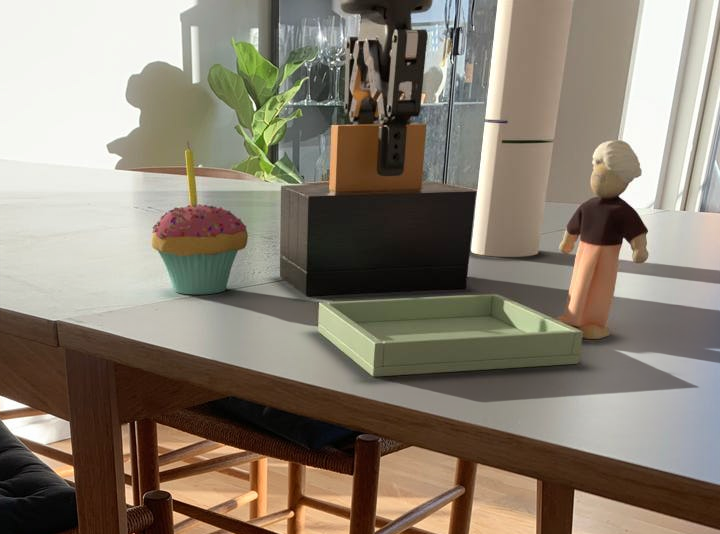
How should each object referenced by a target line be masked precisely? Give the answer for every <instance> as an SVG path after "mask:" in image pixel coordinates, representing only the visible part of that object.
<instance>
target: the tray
mask: <svg viewBox="0 0 720 534" xmlns="http://www.w3.org/2000/svg"><path fill="white" fill-rule="evenodd" d="M555 319H556V318H553V317H551V316H548V315H546V314H544V313H542V312H540V311H538V310H534V309H533V308H530V307H528V306H526V305H524V304H521V303H519V302H517V301H514V300H512V299H509V298H508V297H505V296H503V295H500V294H498V293H491V294H490V293H487V294H485V293H484V294H467V295H447V296H446V295H445V296H443V295H442V296H426V297H425V296H424V297H423V296H422V297H406V298H404V297H403V298H388V299H387V298H382V299H363V300H362V299H361V300H344V301H324V302H322V301H321V302H319V303H318V324H317V327H318V328H317V331H318V333H319V334H321V335H322V336H323V337H325V339H327V340H328V341H329V342H330V343H332V344H333V345H334V346H335V347H337V349H339V350H340V351H342V353H344V354H345V355H346V356H347V357H349V358H350V359H351V360H352V361H353V362H354V363H356V364H357V365H358V366H360V368H362V369H363V370H364V371H365V372H367V373H368V374H369V375H370V376H372V377H373V378H375V377H376V378H377V377H392V376H393V377H394V376H408V375H425V374H441V373H453V372H457V373H458V372H470V371H485V370H487V371H488V370H501V369H502V370H503V369H519V368H533V367H536V368H537V367H549V366H565V365H566V366H567V365H578V364H579V360H580V354H581V349H582V342H583V338H582V337H583V331H581V330H578V329H576V328H574V327H571V326H569V325H567V324H565V323H562V322H560V321H558V320H555Z"/></svg>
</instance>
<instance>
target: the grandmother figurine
mask: <svg viewBox="0 0 720 534" xmlns="http://www.w3.org/2000/svg"><path fill="white" fill-rule="evenodd" d="M591 163H592V166H593V168H592V169H593V171H592V173H591V176H590V188H591V190H592V192H593V193H594V194H595V195H596V196H593V197H590V198H589V199H588V200H586V201H584V202H583V203H581V204H580V205H579V206H578V208H577V209H576V210H575V212H574V213H573V215H572V216H571V218H570V219H569V221H568V223H567V224H566V229H565V232H564V234H563V237H562V239H563V240H562V241H561V242H560V244H559V245H558V246H559V247H558V249H559V251H560V253H562V254H563V255H564V254H565V255H568V254H570V253H572V252H573V251H574V248H575V243H576V242H578V239H579V240H580V241H579V242H578V248H577V250H576V255H575V259H574V266H573V272H572V276H571V281H570V286H569V290H568V295H567V299H566V303H565V306H564V307H565V308H564V313H563V314H564V316H559V317H556V318H554V319H555V320H558V321H560V322H562V323H565V324H567V325H569V326H571V327H574V328H576V329H578V330H581V331H583V337H582V339H587V340H598V339H603V338H606V337H609V336H610V335H611V330H610V328H609V326H607V324H608V320H609V316H610V311H611V306H612V302H613V299H614V295H615V291H616V284H617V283H616V282H617V278H618V271H619V270H618V268H619V258H620V252H621V249H622V246H623V241H624V240H625V241H626V242H627V243H628V244H629V245H630V249H631V251H632V261H633V262H634V263H635V264H643V263H645V262H646V261H647V260H648V258H649V251H648V249H647V245H648V240H647V234H648V233H649V229H648V228H647V226H646V225H645V223H644V221H643V220H642V218H641V216H640V215H639V213H638V212H637V211H636V209H635V208H634V207H633V206H632V205H631V204H629V203H628V201H626V200H624V199H623V198H622V197H620V196H621V195H622V194H623V193H624V192H625V191H626V190H627V188H628V186H629V185H630V184H631V183H632V182H633V181H634V179H638V178H639V177H641V176H642V173H643V171H642V168H641V163H640V162H639V157H638V156H637V154H636V153H635V151H634V149H633V148H632V147H631V145H630V144H629V143H628V142H626V141H625V140H619V139H616V140H615V139H614V140H608V141H605V142H602V143H601V144H599V145H598V146H597V147H596V148H595V149H594V152H593V154H592V161H591Z"/></svg>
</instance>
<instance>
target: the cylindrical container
mask: <svg viewBox="0 0 720 534" xmlns="http://www.w3.org/2000/svg"><path fill="white" fill-rule="evenodd" d="M574 3H575V2H574V0H497V6H496V15H495V24H494V33H493V34H494V35H493V43H492V51H491V52H492V53H491V63H490V72H489V79H488V91H487V99H486V109H485V118H484V119H485V120H490V121H485V122H484V128H483V137H482V146H481V154H480V156H481V157H480V165H479V172H478V173H479V174H478V181H477V182H478V184H477V191H476V200H475V209H474V219H473V228H472V237H471V246H470V253H473V254H474V255H480V256H487V257H496V258H497V257H499V258H500V257H501V258H519V257H520V258H523V257H532V256H535V255H538V254H539V250H540V249H539V248H540V241H541V234H542V228H543V221H544V214H545V207H546V200H547V199H546V198H547V192H548V185H549V179H550V171H551V164H552V156H553V149H554V142H555V141H553V140H554V139H555V134H556V128H557V121H558V115H559V107H560V101H561V100H560V99H561V93H562V86H563V85H562V84H563V78H564V73H565V72H564V71H565V65H566V58H567V51H568V44H569V36H570V29H571V22H572V17H573V9H574Z"/></svg>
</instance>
